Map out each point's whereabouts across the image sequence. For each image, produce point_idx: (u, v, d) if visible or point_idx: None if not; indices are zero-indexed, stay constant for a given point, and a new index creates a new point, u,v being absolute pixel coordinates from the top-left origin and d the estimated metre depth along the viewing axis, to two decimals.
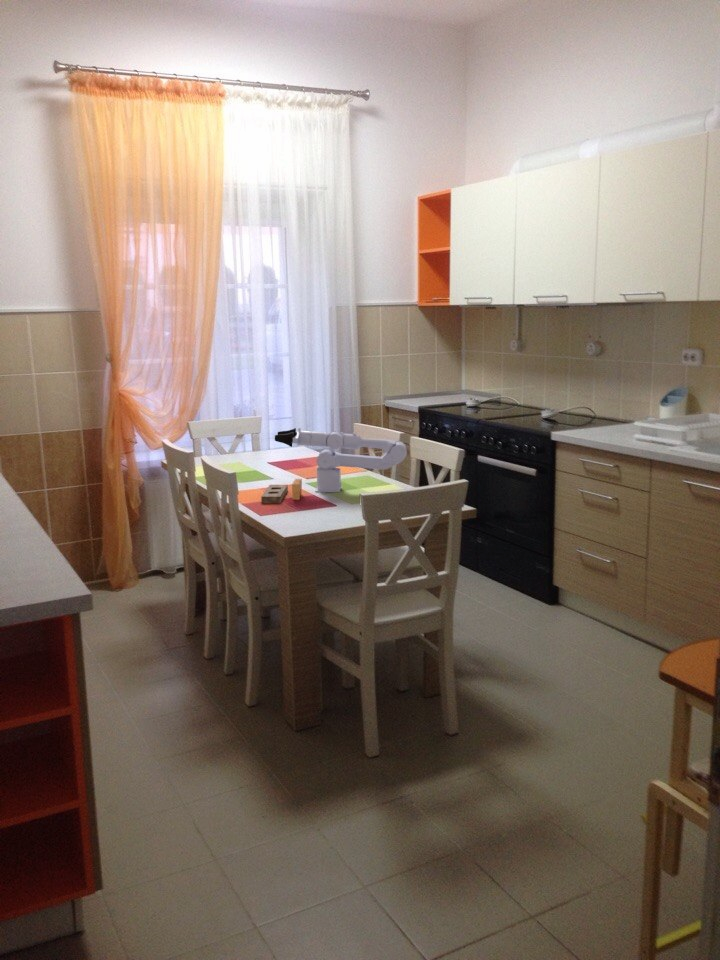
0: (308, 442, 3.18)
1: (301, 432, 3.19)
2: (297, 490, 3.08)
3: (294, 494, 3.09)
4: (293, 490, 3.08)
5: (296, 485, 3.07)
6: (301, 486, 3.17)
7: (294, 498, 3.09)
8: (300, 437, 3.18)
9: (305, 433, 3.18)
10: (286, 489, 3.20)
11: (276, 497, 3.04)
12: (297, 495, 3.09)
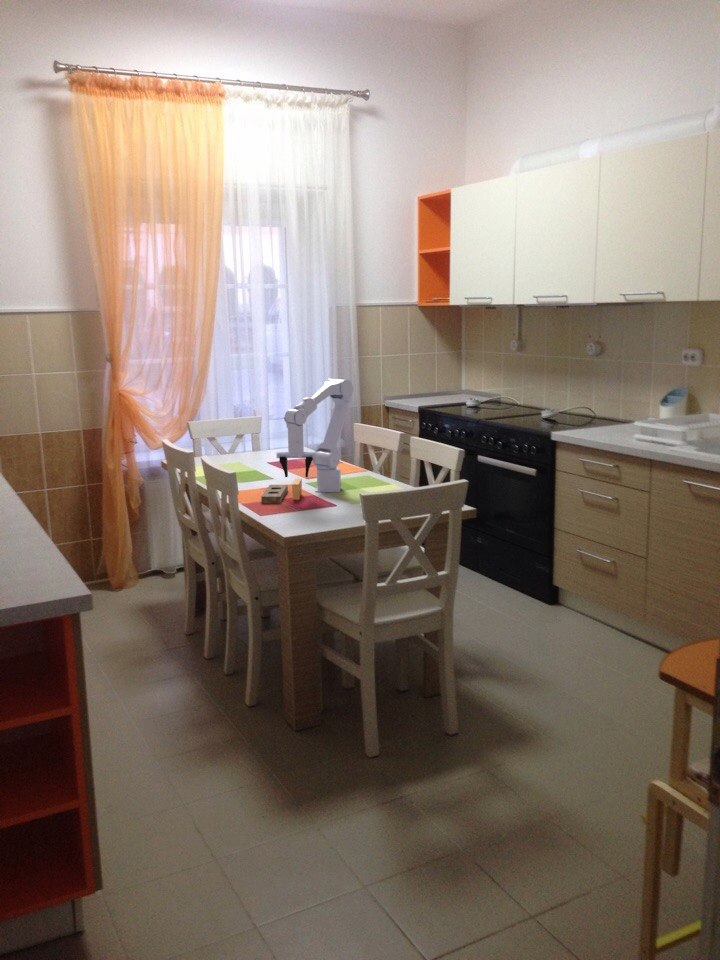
0: None
1: (299, 452, 3.07)
2: (297, 490, 3.08)
3: (294, 494, 3.09)
4: (293, 490, 3.08)
5: (296, 485, 3.07)
6: (301, 486, 3.17)
7: (294, 498, 3.09)
8: (303, 451, 3.09)
9: (300, 447, 3.07)
10: (286, 489, 3.20)
11: (276, 497, 3.04)
12: (297, 495, 3.09)
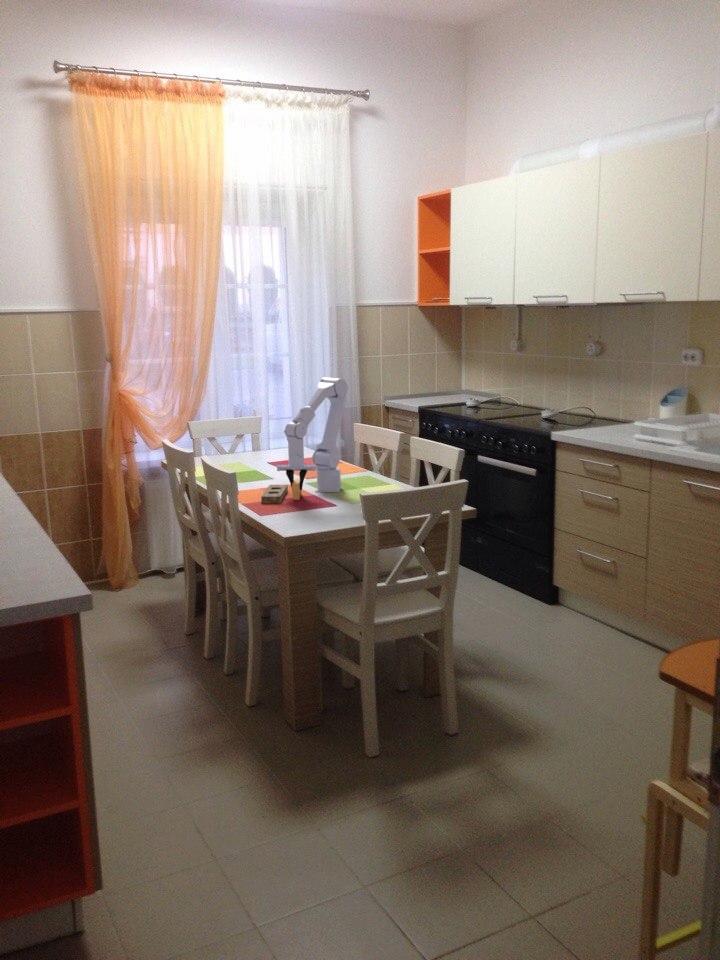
0: None
1: (299, 465, 3.08)
2: (297, 490, 3.08)
3: (294, 494, 3.09)
4: (293, 490, 3.08)
5: (296, 485, 3.07)
6: None
7: (294, 498, 3.09)
8: (303, 464, 3.10)
9: (300, 460, 3.08)
10: (286, 489, 3.20)
11: (276, 497, 3.04)
12: (297, 495, 3.09)
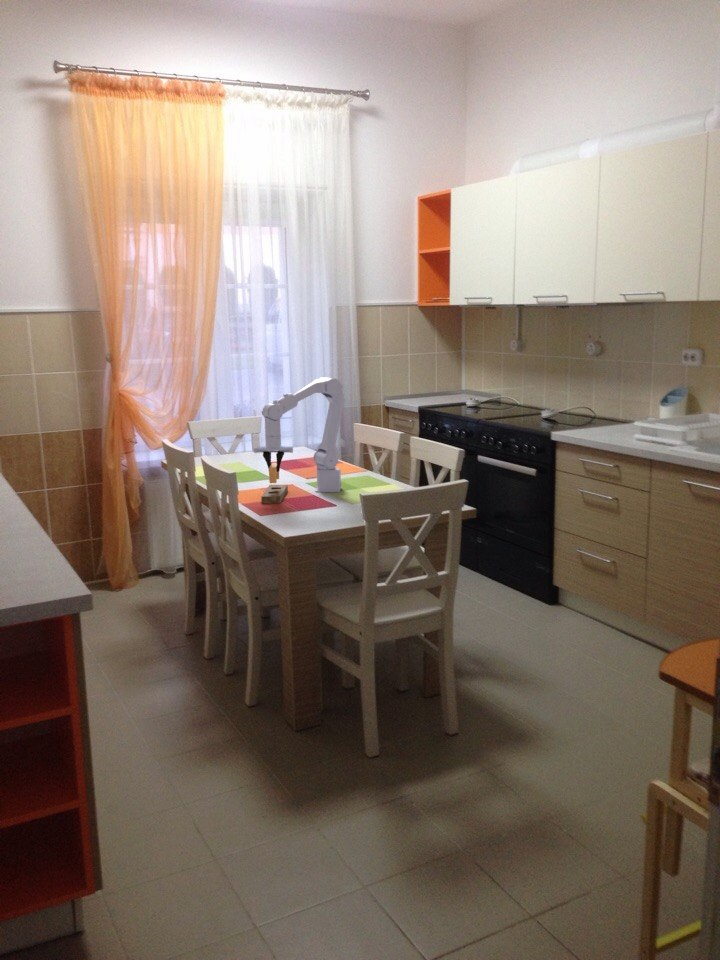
0: None
1: (276, 446, 3.07)
2: (274, 473, 3.07)
3: (271, 478, 3.08)
4: (270, 473, 3.07)
5: (273, 468, 3.06)
6: None
7: (271, 482, 3.08)
8: (280, 446, 3.09)
9: (277, 442, 3.07)
10: (286, 489, 3.20)
11: (276, 497, 3.04)
12: (274, 479, 3.08)
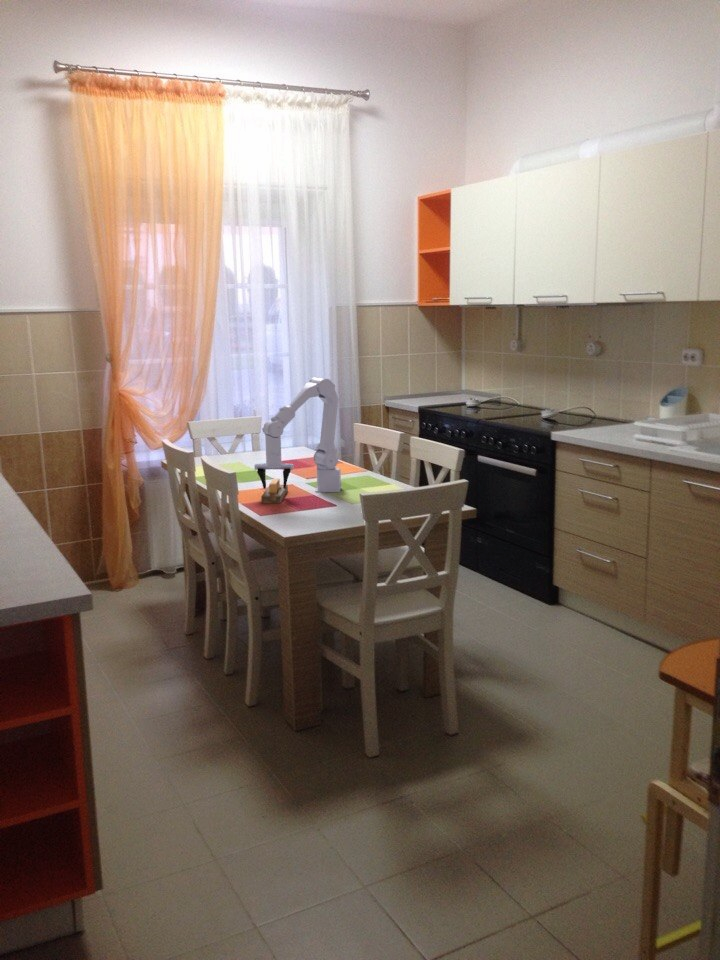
0: None
1: (276, 463, 3.09)
2: (274, 490, 3.08)
3: None
4: (270, 490, 3.08)
5: (273, 485, 3.08)
6: (279, 486, 3.17)
7: None
8: (280, 463, 3.10)
9: (277, 459, 3.09)
10: (286, 489, 3.20)
11: (276, 497, 3.04)
12: None
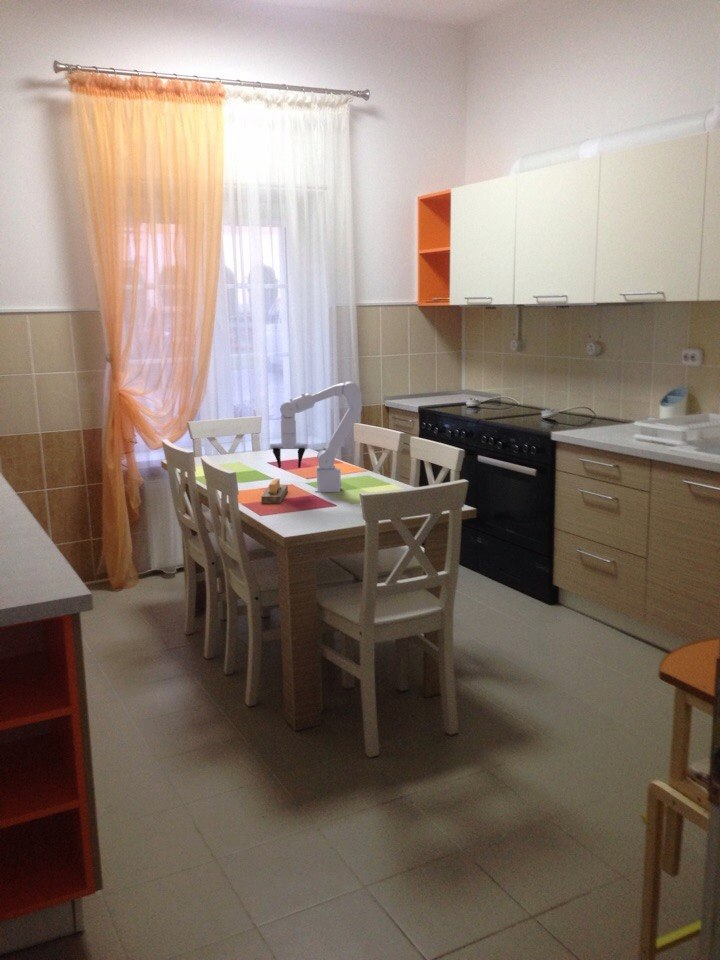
0: None
1: (291, 443, 3.17)
2: (274, 490, 3.08)
3: None
4: (270, 490, 3.08)
5: (273, 485, 3.08)
6: (279, 486, 3.17)
7: None
8: (295, 442, 3.19)
9: (292, 439, 3.17)
10: (286, 489, 3.20)
11: (276, 497, 3.04)
12: None
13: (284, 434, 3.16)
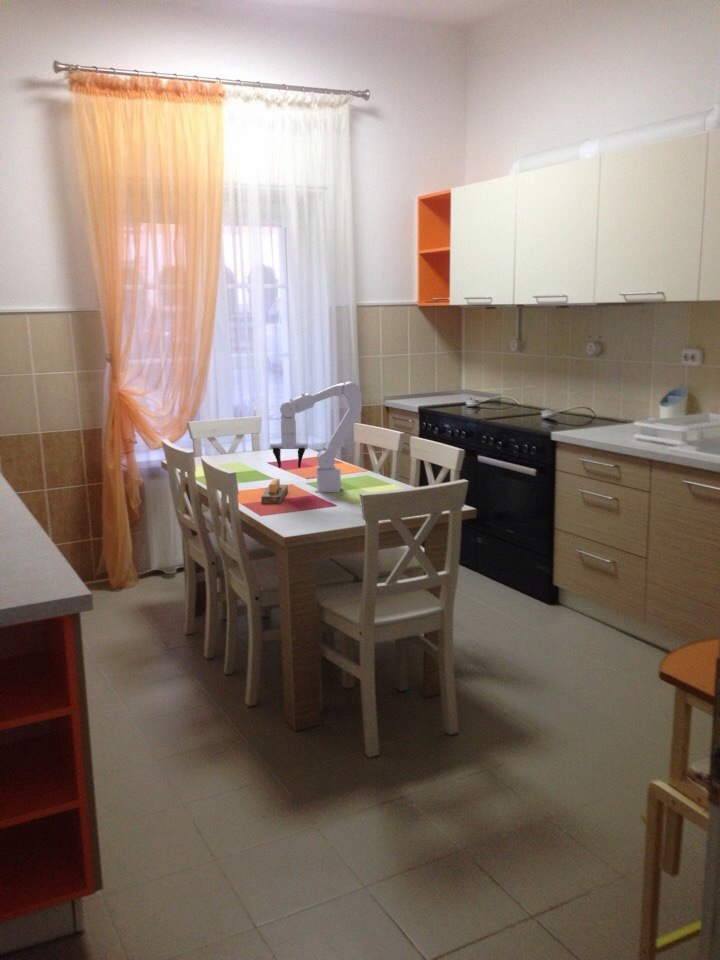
0: None
1: (291, 443, 3.17)
2: (274, 490, 3.08)
3: None
4: (270, 490, 3.08)
5: (273, 485, 3.08)
6: (279, 486, 3.17)
7: None
8: (295, 442, 3.19)
9: (292, 439, 3.17)
10: (286, 489, 3.20)
11: (276, 497, 3.04)
12: None
13: (284, 434, 3.16)
